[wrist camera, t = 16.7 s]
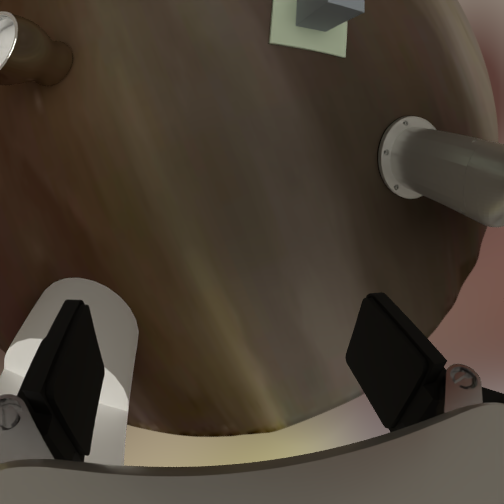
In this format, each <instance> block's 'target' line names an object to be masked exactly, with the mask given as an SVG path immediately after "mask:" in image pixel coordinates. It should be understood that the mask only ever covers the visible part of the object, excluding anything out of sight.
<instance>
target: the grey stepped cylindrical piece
mask: <svg viewBox="0 0 504 504" xmlns="http://www.w3.org/2000/svg"><path fill="white" fill-rule="evenodd" d="M67 299H70V300H82V301H83V302H84V304H85V305H89V308H90V312H91V316H92V321H93V325H94V329H95V333H96V337H97V341H98V345H99V349H100V353H101V356H102V360H103V363H104V368H105V375H104V380H103V384H102V389H101V394H100V399H99V404H98V409H97V414H96V419H95V425H94V431H93V437H92V443H91V450H90V454H89V455H88V456H86V455H85V457H84V462H89V463H98V464H109V465H122V466H124V451H125V439H126V427H127V417H128V408H129V399H130V391H131V383H132V376H133V369H134V362H135V355H136V349H137V343H138V333H139V331H138V327H137V322H136V319H135V317H134V315H133V313H132V311H131V309H130V307H129V306H128V305H127V304H126V303H125V302H124V301H123V299H122V298H121V297H120V296H119V295H117V294H116V293H115V292H113V291H112V290H111V289H109V288H108V287H106V286H104V285H101V284H99V283H97V282H95V281H92V280H87V279H83V278H65V279H62V280H59V281H57V282H54V283H53V284H51V285H50V286H49V287H48V288H46V289H45V291H44V292H43V294H42V295H41V297H40V298H39V300H38V301H37V303H36V304H35V306H34V307H33V309H32V311H31V312H30V314H29V315H28V317H27V318H26V320H25V322H24V323H23V325H22V327H21V328H20V330H19V332H18V333H17V335H16V337H15V338H14V340H13V342H12V344H11V345H10V347H9V349H8V351H7V353H6V356H5V363H4V371H3V372H2V374H1V376H0V395H4V394H12V395H16V396H17V394H18V392H19V389H20V387H21V385H22V382H23V380H24V378H25V375H26V373H27V371H28V369H29V366H30V364H31V362H32V360H33V358H34V356H35V354H36V351H37V349H38V347H39V345H40V343H41V341H42V340H43V339H44V338H46V336H47V334H48V332H49V330H50V328H51V326H52V324H53V322H54V320H55V318H56V316H57V314H58V313H59V311H60V309H61V307H62V305H63V303H64V302H65V300H67Z"/></svg>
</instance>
